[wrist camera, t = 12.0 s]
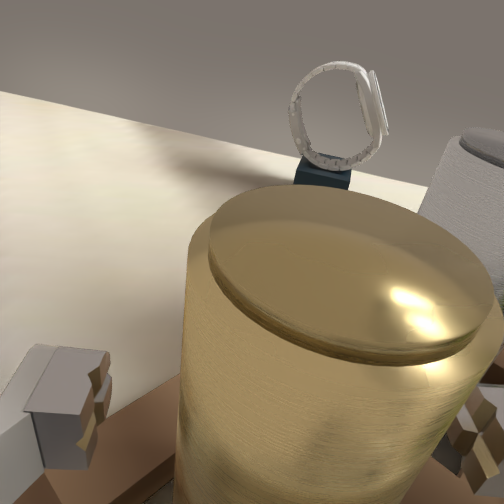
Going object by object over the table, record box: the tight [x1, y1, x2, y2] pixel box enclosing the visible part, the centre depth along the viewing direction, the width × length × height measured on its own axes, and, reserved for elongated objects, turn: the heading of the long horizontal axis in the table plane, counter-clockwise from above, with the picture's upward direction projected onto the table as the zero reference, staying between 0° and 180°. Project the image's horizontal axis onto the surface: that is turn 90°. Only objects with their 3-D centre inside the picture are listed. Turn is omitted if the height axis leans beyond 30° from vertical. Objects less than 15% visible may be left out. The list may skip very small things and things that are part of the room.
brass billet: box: [172, 185, 504, 504], centre depth 9 cm, size 5×5×11 cm
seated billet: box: [417, 127, 504, 383], centre depth 16 cm, size 5×5×11 cm
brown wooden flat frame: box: [13, 348, 504, 504], centre depth 15 cm, size 20×12×2 cm, turn 135°
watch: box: [288, 61, 388, 190], centre depth 33 cm, size 6×8×11 cm
